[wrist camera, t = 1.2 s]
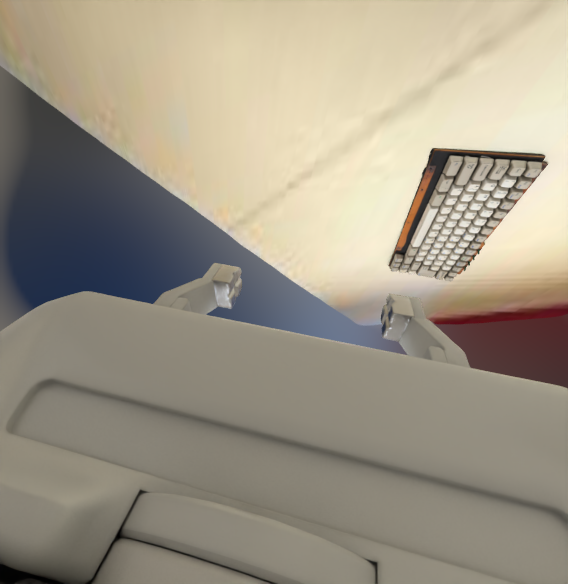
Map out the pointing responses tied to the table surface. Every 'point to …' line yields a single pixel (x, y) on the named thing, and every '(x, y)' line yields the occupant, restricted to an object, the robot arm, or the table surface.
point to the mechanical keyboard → (460, 208)
